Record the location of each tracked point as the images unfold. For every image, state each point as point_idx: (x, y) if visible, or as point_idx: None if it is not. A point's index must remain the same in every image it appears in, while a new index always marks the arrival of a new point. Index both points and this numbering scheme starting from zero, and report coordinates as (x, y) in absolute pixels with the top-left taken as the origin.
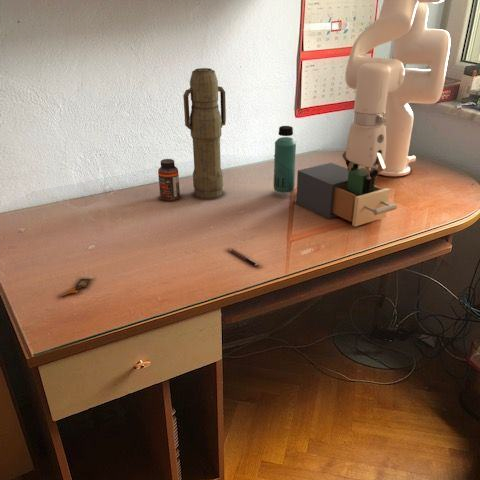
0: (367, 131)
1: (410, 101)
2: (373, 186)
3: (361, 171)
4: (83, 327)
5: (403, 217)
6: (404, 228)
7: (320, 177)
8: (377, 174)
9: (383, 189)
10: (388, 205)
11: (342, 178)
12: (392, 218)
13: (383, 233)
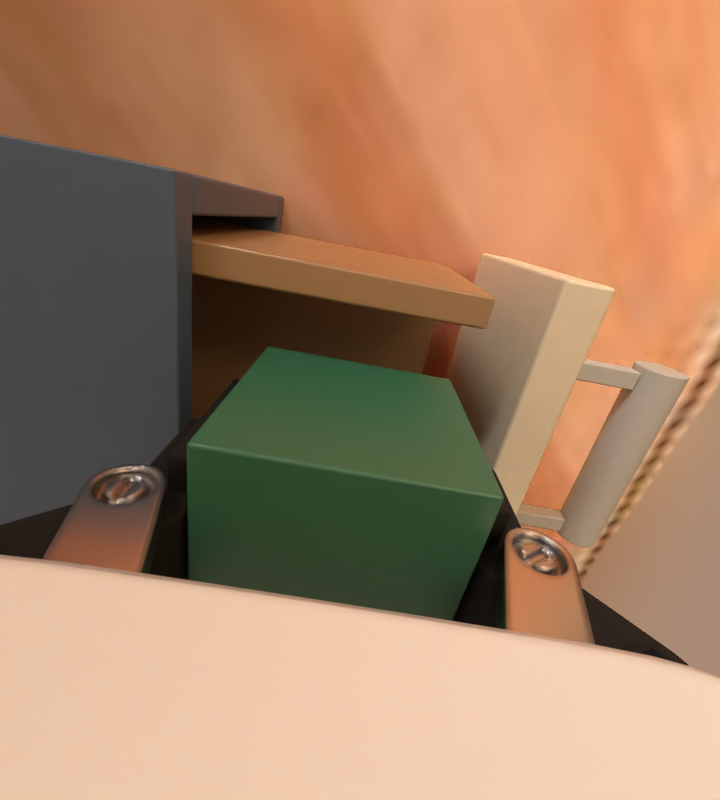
0: None
1: None
2: (499, 486)
3: (303, 574)
4: None
5: (589, 110)
6: (654, 285)
7: None
8: (612, 634)
9: (554, 351)
10: (639, 443)
11: (97, 458)
12: (528, 193)
13: (571, 420)
